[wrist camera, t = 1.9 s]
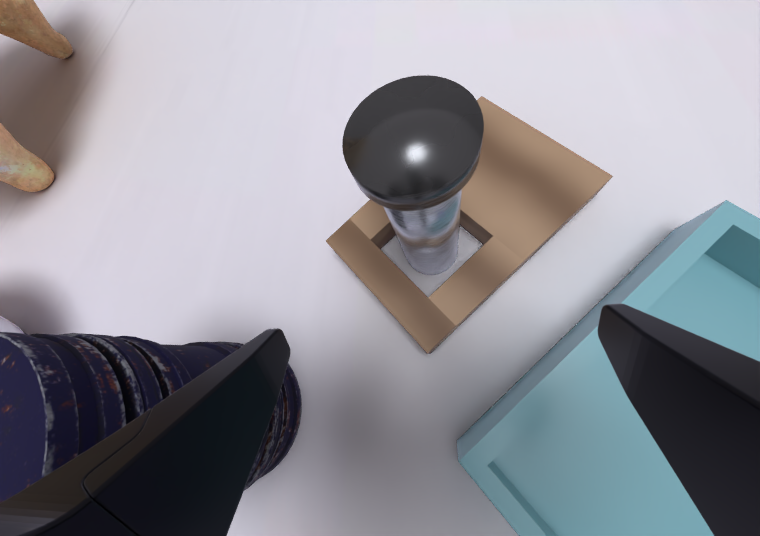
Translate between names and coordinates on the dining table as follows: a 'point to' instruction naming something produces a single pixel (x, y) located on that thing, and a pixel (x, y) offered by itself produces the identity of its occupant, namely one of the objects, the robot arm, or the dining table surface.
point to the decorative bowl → (3, 153)
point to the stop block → (478, 225)
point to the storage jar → (104, 397)
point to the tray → (616, 398)
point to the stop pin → (417, 161)
